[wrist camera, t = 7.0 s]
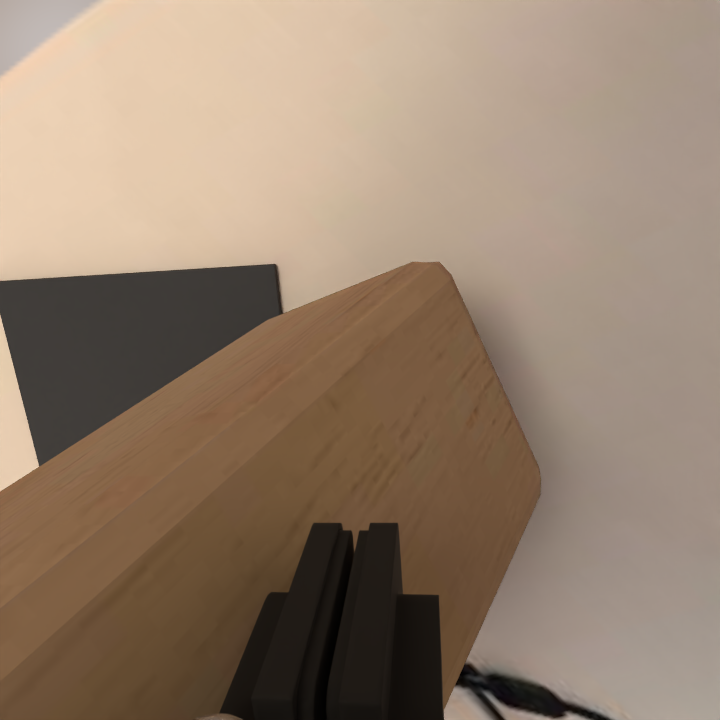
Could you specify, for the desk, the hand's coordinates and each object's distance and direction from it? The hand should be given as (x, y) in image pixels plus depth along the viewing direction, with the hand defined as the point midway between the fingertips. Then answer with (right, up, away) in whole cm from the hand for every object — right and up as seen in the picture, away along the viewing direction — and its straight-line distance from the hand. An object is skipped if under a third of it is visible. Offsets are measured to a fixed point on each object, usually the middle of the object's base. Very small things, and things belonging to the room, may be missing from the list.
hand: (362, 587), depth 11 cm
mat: (-10, +3, +16) cm, 19 cm away
